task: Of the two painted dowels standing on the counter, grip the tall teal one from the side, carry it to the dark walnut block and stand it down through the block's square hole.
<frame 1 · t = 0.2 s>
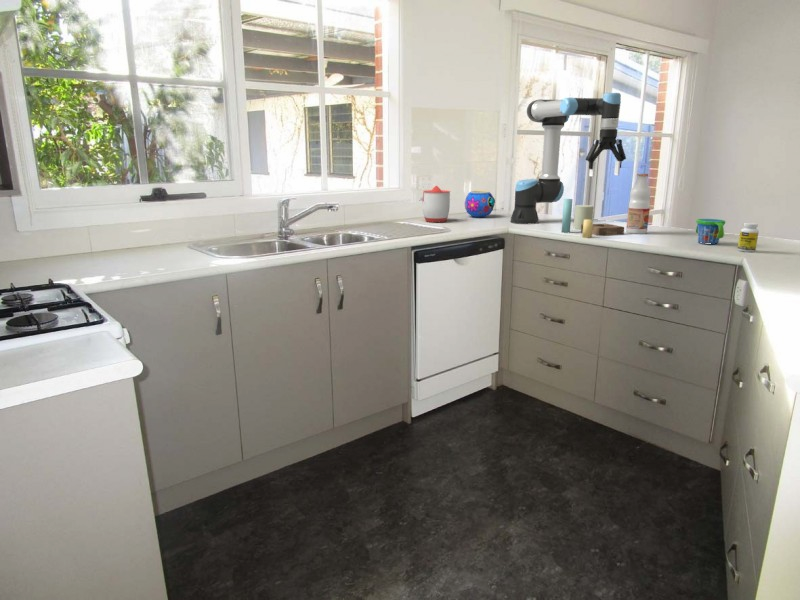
hand: (604, 175, 263), 27 cm above the countertop, tool pointing down, fingers open, 13 cm apart
snack cup: (707, 244, 240), on the countertop
fruit juice: (636, 233, 271), on the countertop
citrus juicer: (434, 221, 316), on the countertop
can: (582, 228, 287), on the countertop
tall dowel: (565, 232, 274), on the countertop
ceramic pot: (479, 217, 336), on the countertop
short dowel: (586, 237, 259), on the countertop
pill bottle: (746, 251, 223), on the countertop
walnut block: (601, 232, 271), on the countertop
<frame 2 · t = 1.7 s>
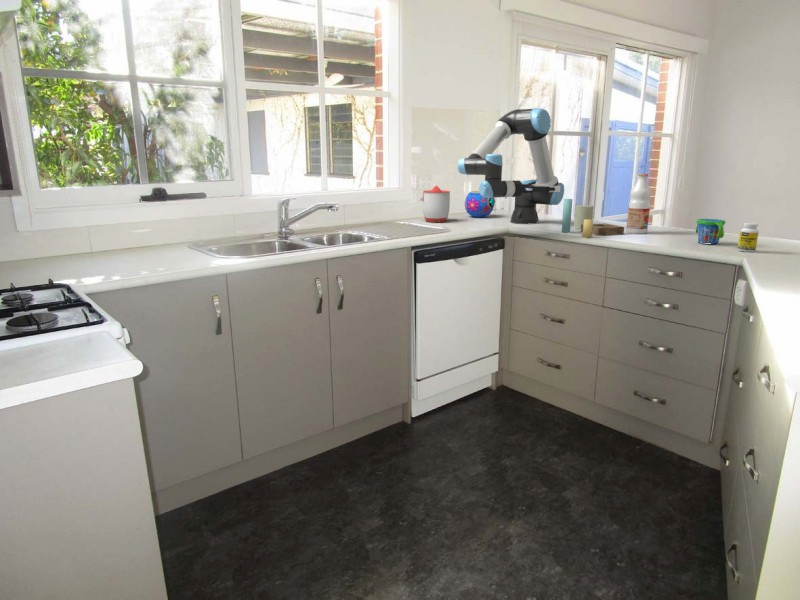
hand: (551, 187, 266), 22 cm above the countertop, tool horizontal, fingers open, 13 cm apart
nothing on the countertop moved.
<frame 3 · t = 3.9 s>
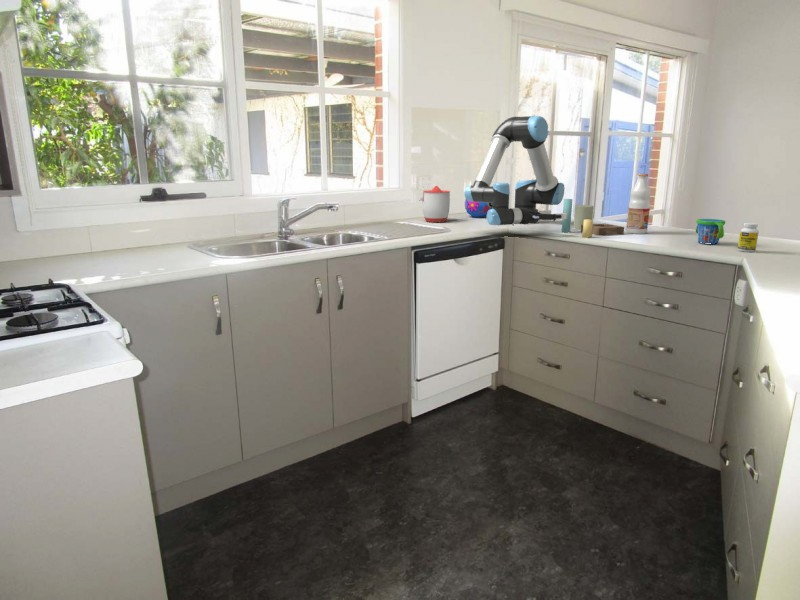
hand: (558, 214, 270), 9 cm above the countertop, tool horizontal, fingers open, 13 cm apart
nothing on the countertop moved.
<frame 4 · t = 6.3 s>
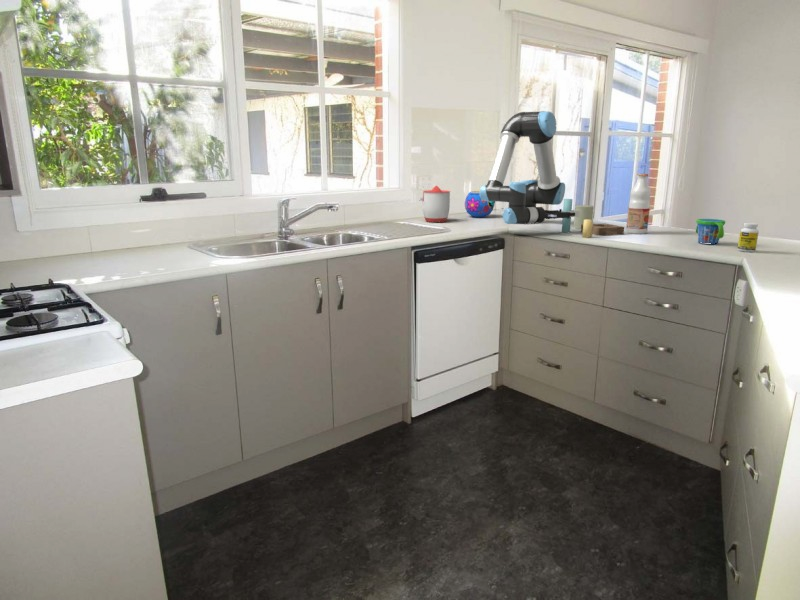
hand: (576, 213, 273), 9 cm above the countertop, tool horizontal, fingers closed on tall dowel, 4 cm apart
tall dowel: (565, 232, 274), on the countertop, touching gripper
everything else where it was.
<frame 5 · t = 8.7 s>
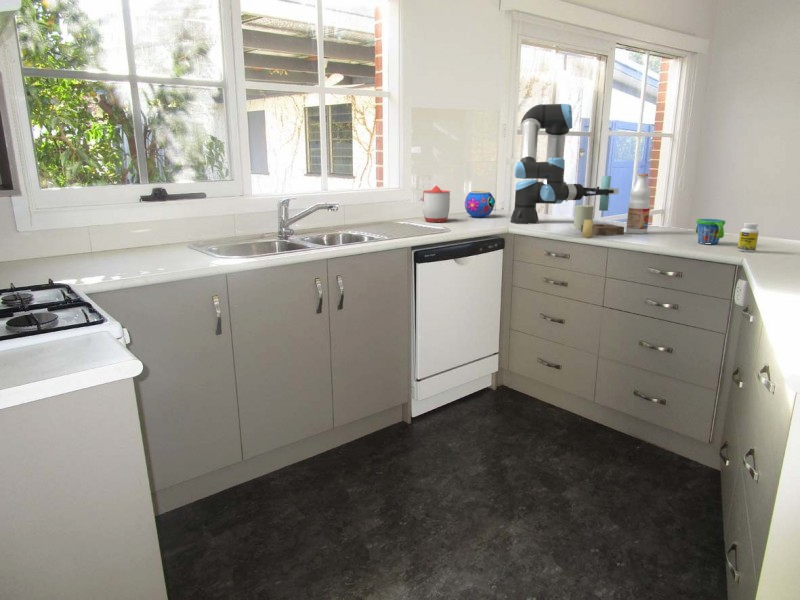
hand: (614, 190, 267), 20 cm above the countertop, tool horizontal, fingers closed on tall dowel, 4 cm apart
tall dowel: (603, 210, 268), point 11 cm above the countertop, touching gripper
everything else where it was.
when the fingers open (10 cm above the countertop, at t = 11.3 s): tall dowel stays where it is, resting in walnut block.
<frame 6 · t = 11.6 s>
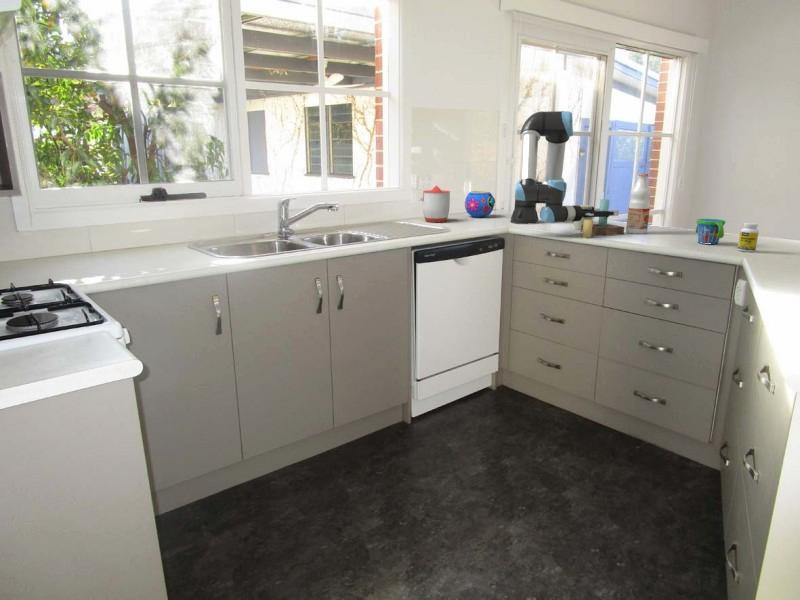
hand: (612, 211, 270), 10 cm above the countertop, tool horizontal, fingers open, 8 cm apart
tall dowel: (601, 233, 271), resting in walnut block
everything else where it was.
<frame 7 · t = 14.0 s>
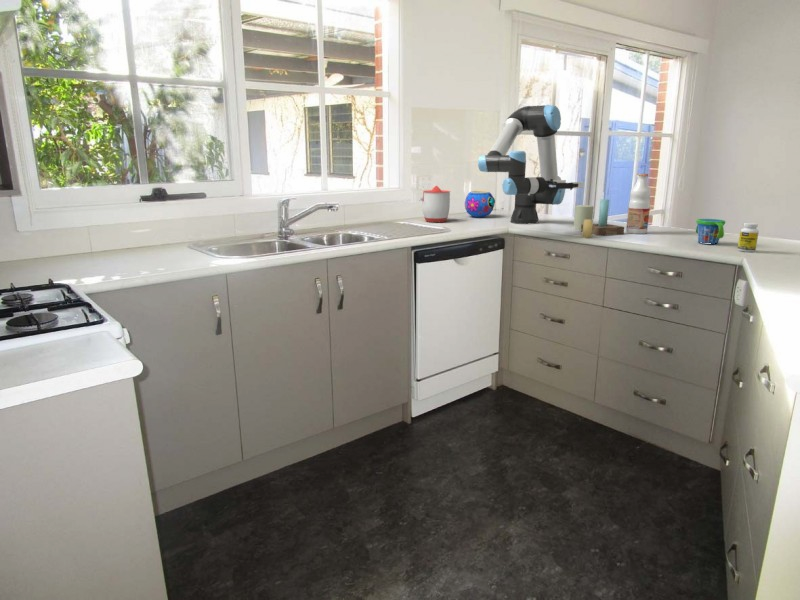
hand: (573, 183, 265), 23 cm above the countertop, tool horizontal, fingers open, 13 cm apart
nothing on the countertop moved.
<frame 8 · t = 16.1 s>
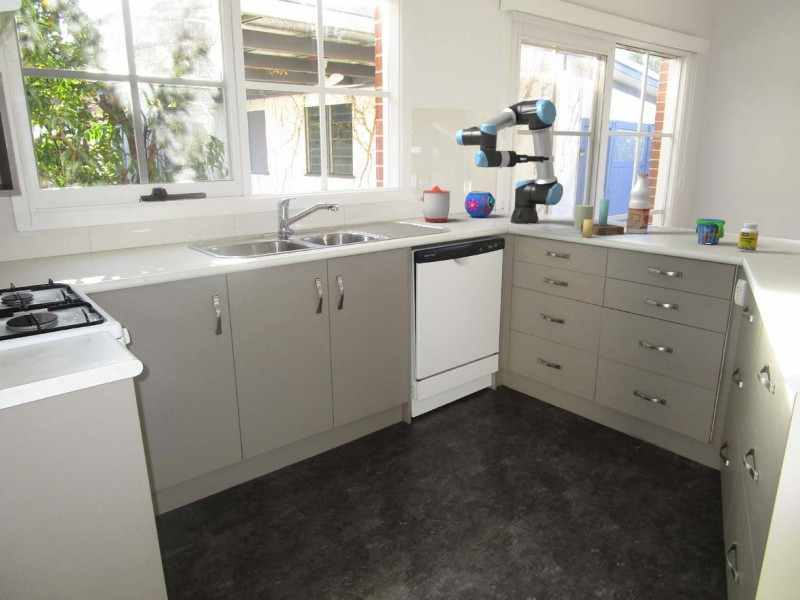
hand: (546, 158, 270), 35 cm above the countertop, tool horizontal, fingers open, 13 cm apart
nothing on the countertop moved.
at the end: tall dowel 0.1 cm off-centre on the walnut block, point 0.0 cm above the walnut block's base; tall dowel tilted 0°; the gripper is holding nothing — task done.
